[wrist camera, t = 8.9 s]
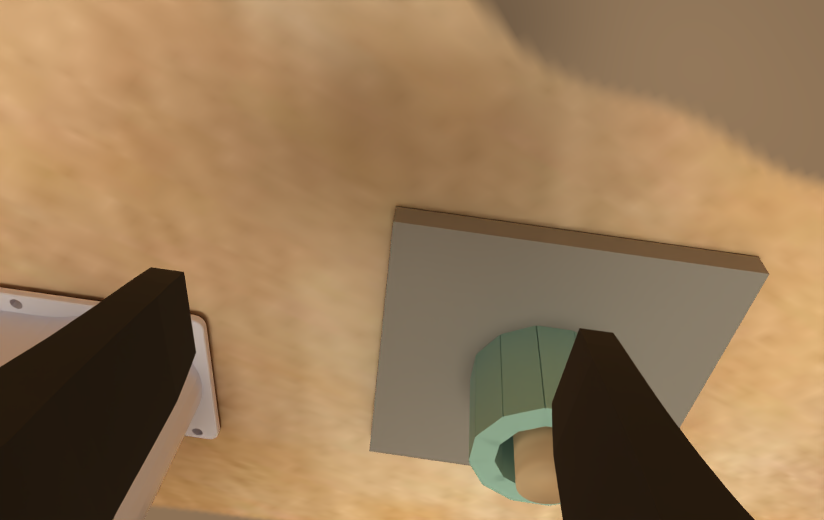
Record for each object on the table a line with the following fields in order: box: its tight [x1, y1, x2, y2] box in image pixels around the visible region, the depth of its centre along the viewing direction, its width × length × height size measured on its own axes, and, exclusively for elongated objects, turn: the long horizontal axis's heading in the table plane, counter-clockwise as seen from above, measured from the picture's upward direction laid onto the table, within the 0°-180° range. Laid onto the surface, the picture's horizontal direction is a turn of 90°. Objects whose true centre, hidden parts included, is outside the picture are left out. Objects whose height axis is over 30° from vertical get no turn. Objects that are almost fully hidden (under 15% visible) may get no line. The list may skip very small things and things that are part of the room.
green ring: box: [469, 326, 577, 506], centre depth 23 cm, size 5×5×4 cm
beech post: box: [513, 426, 560, 504], centre depth 23 cm, size 2×2×5 cm
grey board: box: [369, 207, 769, 466], centre depth 25 cm, size 13×13×1 cm
